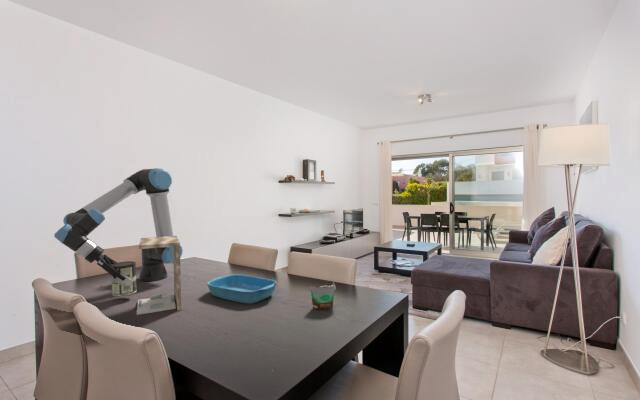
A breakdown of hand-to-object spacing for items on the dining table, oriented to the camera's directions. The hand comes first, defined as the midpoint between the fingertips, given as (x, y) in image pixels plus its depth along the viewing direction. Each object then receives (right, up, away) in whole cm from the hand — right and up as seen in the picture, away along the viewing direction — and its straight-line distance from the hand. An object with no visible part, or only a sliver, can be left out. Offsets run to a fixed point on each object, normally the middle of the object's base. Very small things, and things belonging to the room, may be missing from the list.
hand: (131, 280), depth 157 cm
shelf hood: (+18, -9, -9) cm, 22 cm away
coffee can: (-3, -6, -1) cm, 6 cm away
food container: (+94, -9, -15) cm, 95 cm away
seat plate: (+17, -9, -9) cm, 21 cm away
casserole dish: (+52, -9, +4) cm, 53 cm away
